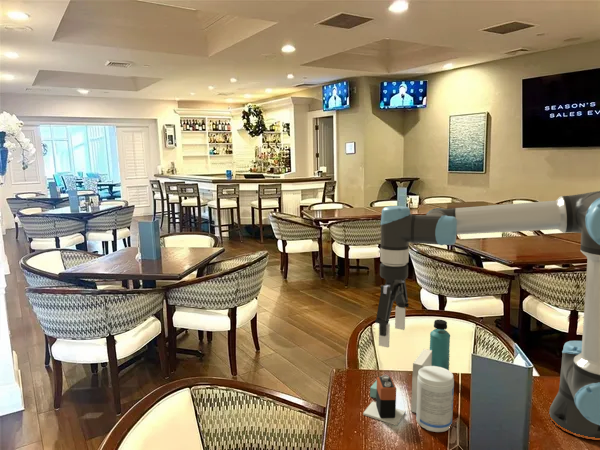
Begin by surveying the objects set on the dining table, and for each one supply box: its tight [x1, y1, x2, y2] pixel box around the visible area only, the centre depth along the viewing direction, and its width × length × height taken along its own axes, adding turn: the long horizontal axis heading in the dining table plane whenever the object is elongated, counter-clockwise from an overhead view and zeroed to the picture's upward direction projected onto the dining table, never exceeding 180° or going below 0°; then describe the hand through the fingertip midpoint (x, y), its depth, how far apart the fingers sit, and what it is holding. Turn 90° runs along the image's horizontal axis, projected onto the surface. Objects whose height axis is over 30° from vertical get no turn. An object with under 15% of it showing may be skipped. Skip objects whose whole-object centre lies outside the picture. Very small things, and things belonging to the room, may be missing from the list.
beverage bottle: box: [429, 319, 451, 371], centre depth 146 cm, size 6×7×20 cm
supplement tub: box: [415, 366, 455, 433], centre depth 122 cm, size 10×10×15 cm
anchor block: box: [369, 379, 377, 399], centre depth 139 cm, size 2×8×3 cm, turn 149°
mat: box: [362, 400, 406, 427], centre depth 128 cm, size 10×7×1 cm
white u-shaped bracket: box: [410, 348, 432, 414], centre depth 132 cm, size 2×11×15 cm, turn 149°
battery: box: [375, 374, 397, 418], centre depth 127 cm, size 4×7×10 cm, turn 1°
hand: (392, 337), depth 125 cm, fingers open, 13 cm apart
